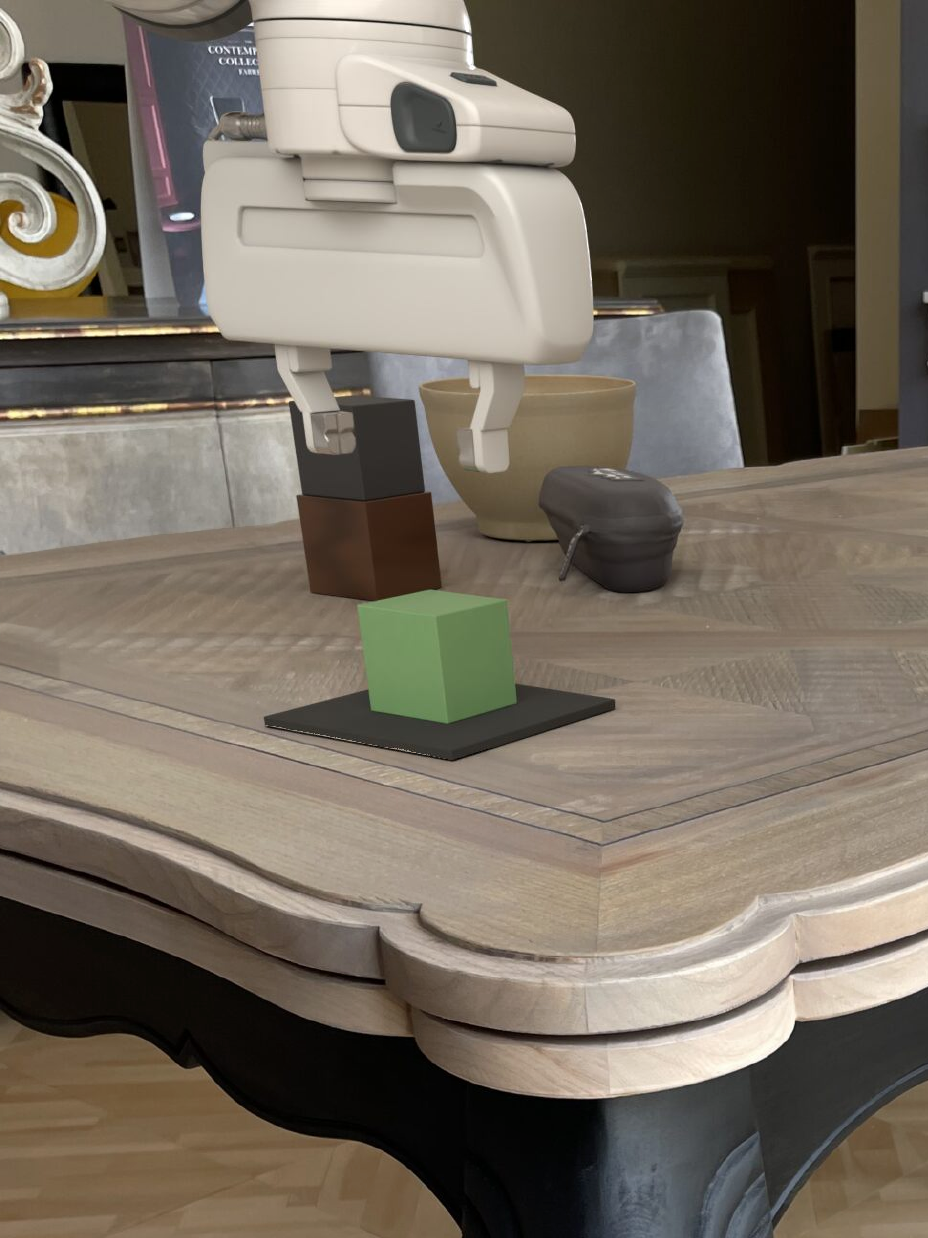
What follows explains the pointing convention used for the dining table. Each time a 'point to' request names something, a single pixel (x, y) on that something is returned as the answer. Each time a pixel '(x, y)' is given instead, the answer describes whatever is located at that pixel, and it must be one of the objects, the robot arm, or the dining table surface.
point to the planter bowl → (532, 443)
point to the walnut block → (370, 545)
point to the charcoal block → (365, 452)
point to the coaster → (439, 739)
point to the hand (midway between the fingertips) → (407, 462)
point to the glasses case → (613, 525)
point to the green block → (437, 655)
